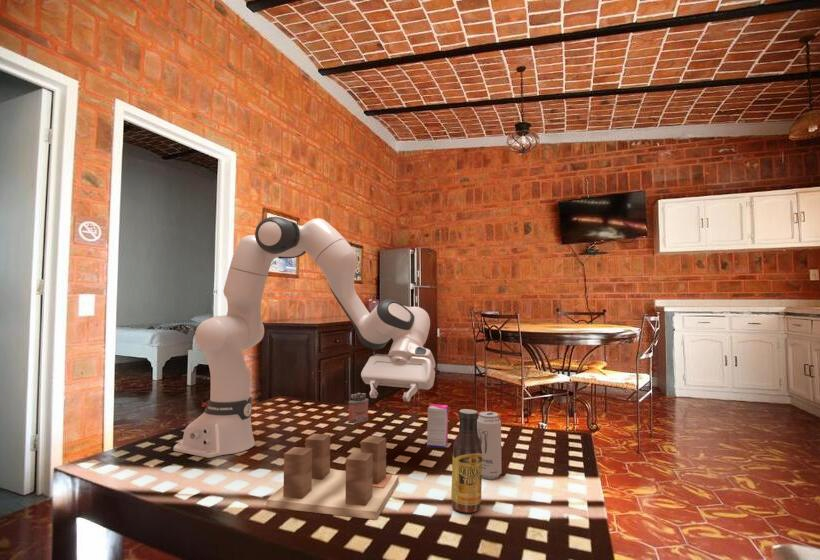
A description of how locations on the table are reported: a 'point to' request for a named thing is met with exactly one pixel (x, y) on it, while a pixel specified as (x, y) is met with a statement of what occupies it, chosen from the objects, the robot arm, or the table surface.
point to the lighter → (358, 408)
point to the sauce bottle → (467, 464)
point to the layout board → (331, 482)
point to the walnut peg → (376, 456)
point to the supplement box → (437, 426)
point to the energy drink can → (490, 443)
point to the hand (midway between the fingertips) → (388, 398)
